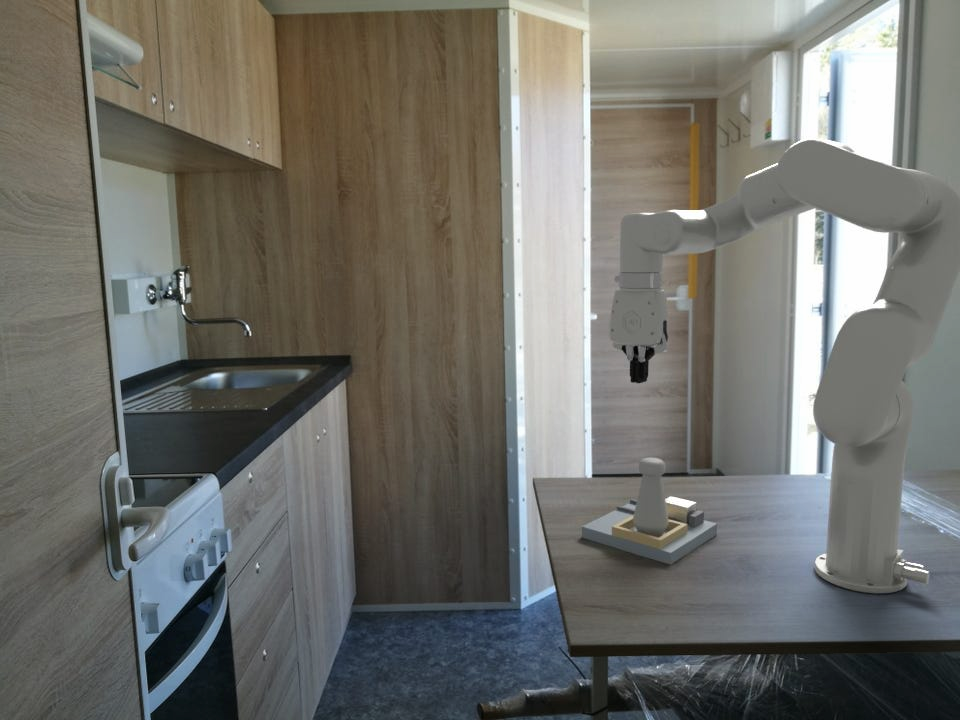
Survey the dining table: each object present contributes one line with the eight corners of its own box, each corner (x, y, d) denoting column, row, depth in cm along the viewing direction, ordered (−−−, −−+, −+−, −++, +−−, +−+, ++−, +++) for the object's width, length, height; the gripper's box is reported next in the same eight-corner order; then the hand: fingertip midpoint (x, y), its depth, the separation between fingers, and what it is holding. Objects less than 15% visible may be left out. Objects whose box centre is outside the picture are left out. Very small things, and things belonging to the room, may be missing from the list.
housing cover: (695, 518, 131) (696, 502, 131) (686, 524, 129) (687, 507, 128) (670, 512, 135) (670, 496, 134) (660, 517, 132) (661, 501, 132)
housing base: (716, 534, 130) (717, 512, 129) (670, 564, 118) (671, 540, 118) (631, 511, 142) (632, 491, 141) (581, 537, 130) (582, 515, 129)
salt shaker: (671, 540, 123) (673, 464, 121) (636, 541, 123) (638, 464, 121) (663, 527, 128) (665, 454, 126) (630, 527, 128) (631, 454, 126)
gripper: (594, 282, 137) (593, 380, 140) (667, 284, 127) (665, 390, 130) (616, 280, 143) (615, 374, 146) (688, 282, 133) (685, 383, 136)
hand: (638, 381), depth 138 cm, fingers closed
